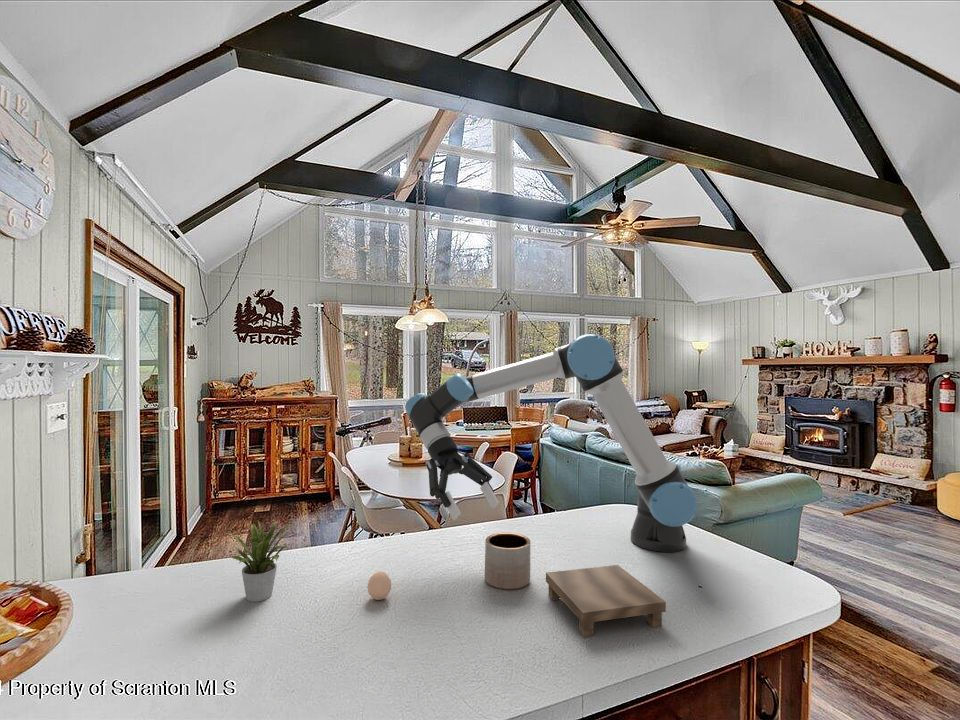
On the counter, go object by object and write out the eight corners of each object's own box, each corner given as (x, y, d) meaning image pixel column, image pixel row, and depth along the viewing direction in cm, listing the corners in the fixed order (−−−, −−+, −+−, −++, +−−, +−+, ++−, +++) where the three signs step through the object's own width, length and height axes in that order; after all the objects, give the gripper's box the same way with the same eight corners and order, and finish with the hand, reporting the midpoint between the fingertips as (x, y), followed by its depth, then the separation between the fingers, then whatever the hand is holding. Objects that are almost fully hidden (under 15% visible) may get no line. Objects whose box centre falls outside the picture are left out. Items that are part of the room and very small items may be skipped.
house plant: (313, 589, 113) (314, 517, 113) (263, 618, 101) (264, 537, 101) (267, 577, 119) (267, 508, 119) (214, 602, 107) (215, 526, 107)
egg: (365, 595, 111) (365, 569, 111) (388, 591, 113) (388, 565, 113) (369, 606, 106) (370, 578, 106) (393, 601, 108) (393, 574, 108)
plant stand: (617, 586, 117) (617, 564, 117) (665, 626, 100) (665, 601, 100) (545, 594, 112) (545, 572, 112) (582, 639, 95) (583, 612, 95)
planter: (527, 593, 113) (528, 551, 113) (480, 588, 115) (480, 546, 115) (532, 573, 124) (533, 534, 124) (488, 568, 126) (489, 530, 126)
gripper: (465, 446, 148) (502, 509, 137) (395, 458, 130) (432, 530, 120) (478, 430, 144) (518, 493, 133) (408, 440, 126) (447, 513, 116)
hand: (477, 511), depth 126 cm, fingers open, 13 cm apart
